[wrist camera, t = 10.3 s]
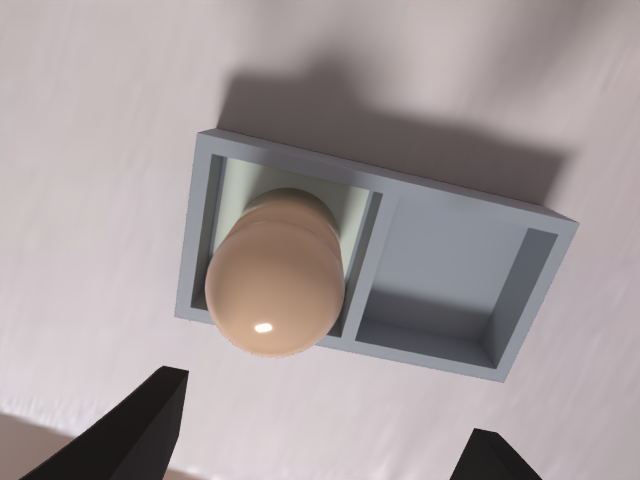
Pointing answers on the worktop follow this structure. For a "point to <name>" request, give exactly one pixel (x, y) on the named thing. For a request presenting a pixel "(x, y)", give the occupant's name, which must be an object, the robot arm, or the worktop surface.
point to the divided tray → (390, 253)
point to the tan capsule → (277, 275)
